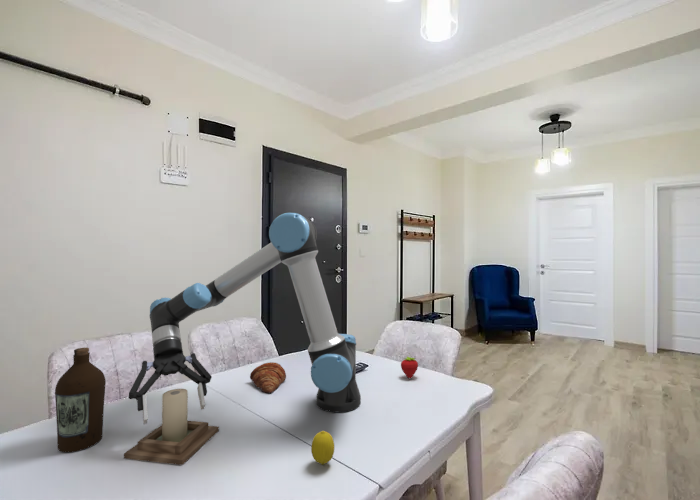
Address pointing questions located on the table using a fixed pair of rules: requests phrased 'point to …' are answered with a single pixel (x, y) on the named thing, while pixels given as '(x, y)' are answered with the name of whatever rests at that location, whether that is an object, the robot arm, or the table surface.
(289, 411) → the table surface
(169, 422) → the kraft paper roll
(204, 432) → the walnut roll stand
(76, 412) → the brown bottle
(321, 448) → the lemon
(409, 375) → the strawberry
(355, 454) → the table surface
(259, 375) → the pastry
